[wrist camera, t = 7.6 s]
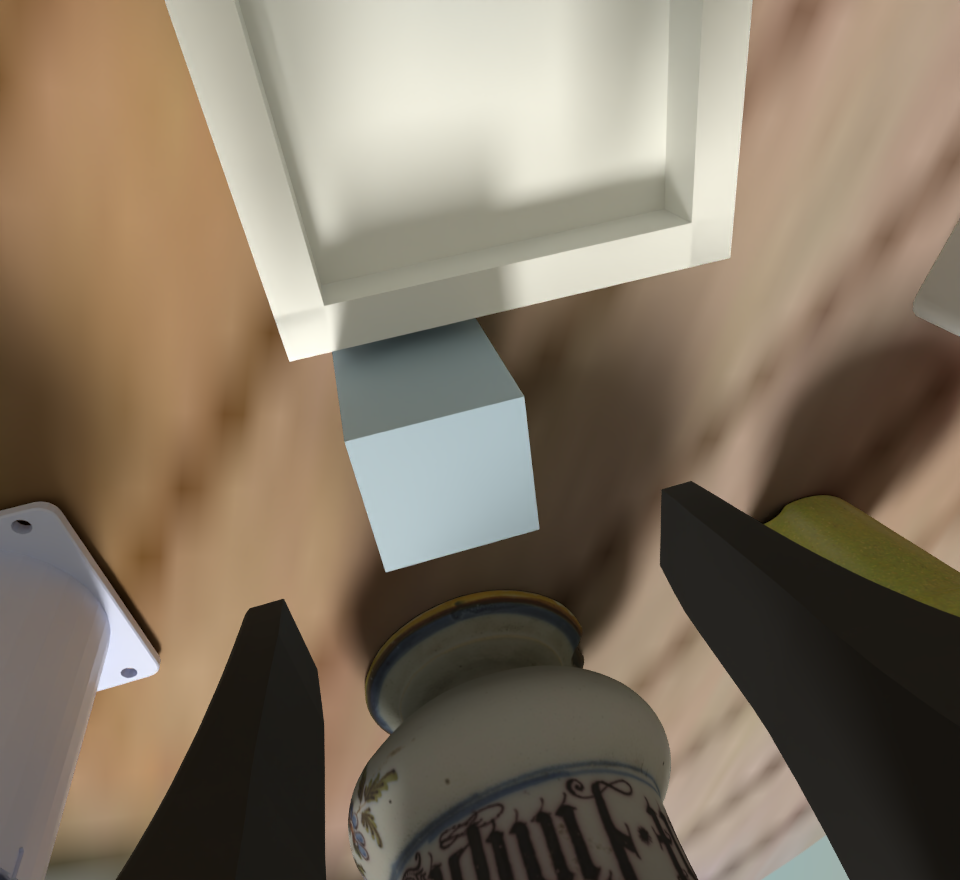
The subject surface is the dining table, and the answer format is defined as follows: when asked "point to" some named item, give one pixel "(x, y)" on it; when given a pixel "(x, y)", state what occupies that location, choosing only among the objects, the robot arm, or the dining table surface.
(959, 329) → the red striped block
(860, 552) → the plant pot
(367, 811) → the apothecary jar
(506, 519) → the block
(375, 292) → the tray
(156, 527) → the dining table surface
